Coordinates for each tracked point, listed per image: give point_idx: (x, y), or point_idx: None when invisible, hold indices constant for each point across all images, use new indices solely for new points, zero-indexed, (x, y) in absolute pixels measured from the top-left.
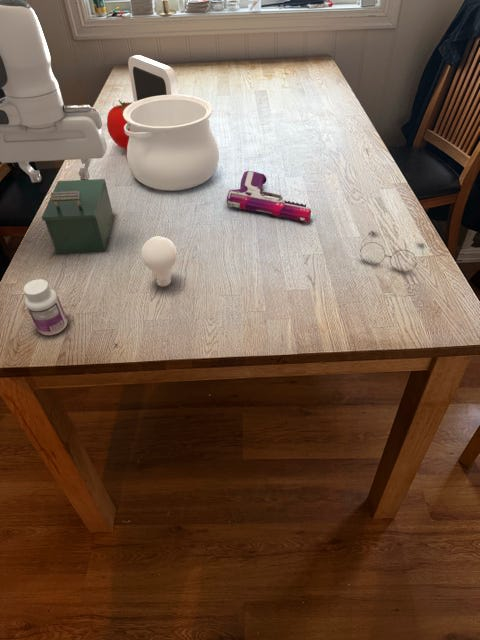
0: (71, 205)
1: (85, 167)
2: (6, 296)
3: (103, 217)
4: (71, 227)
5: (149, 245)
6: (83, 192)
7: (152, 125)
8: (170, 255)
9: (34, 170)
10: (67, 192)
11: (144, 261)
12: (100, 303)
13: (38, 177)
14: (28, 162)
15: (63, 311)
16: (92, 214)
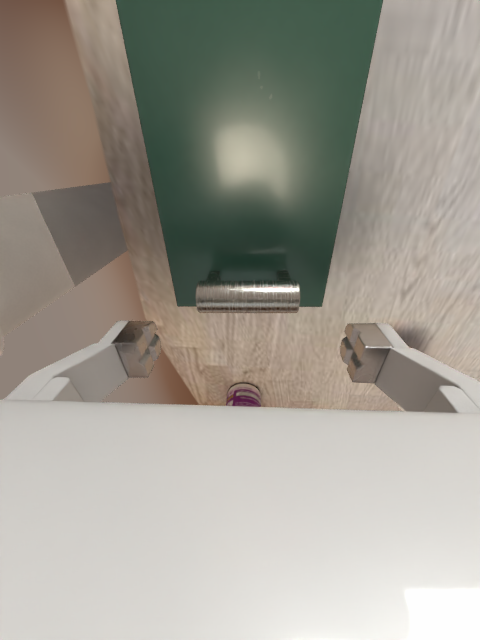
0: (247, 249)
1: (409, 408)
2: (163, 349)
3: None
4: None
5: None
6: (278, 144)
7: None
8: None
9: (114, 347)
10: (258, 307)
11: (397, 405)
12: (296, 369)
13: (150, 351)
14: (77, 400)
15: (260, 406)
16: (317, 304)
